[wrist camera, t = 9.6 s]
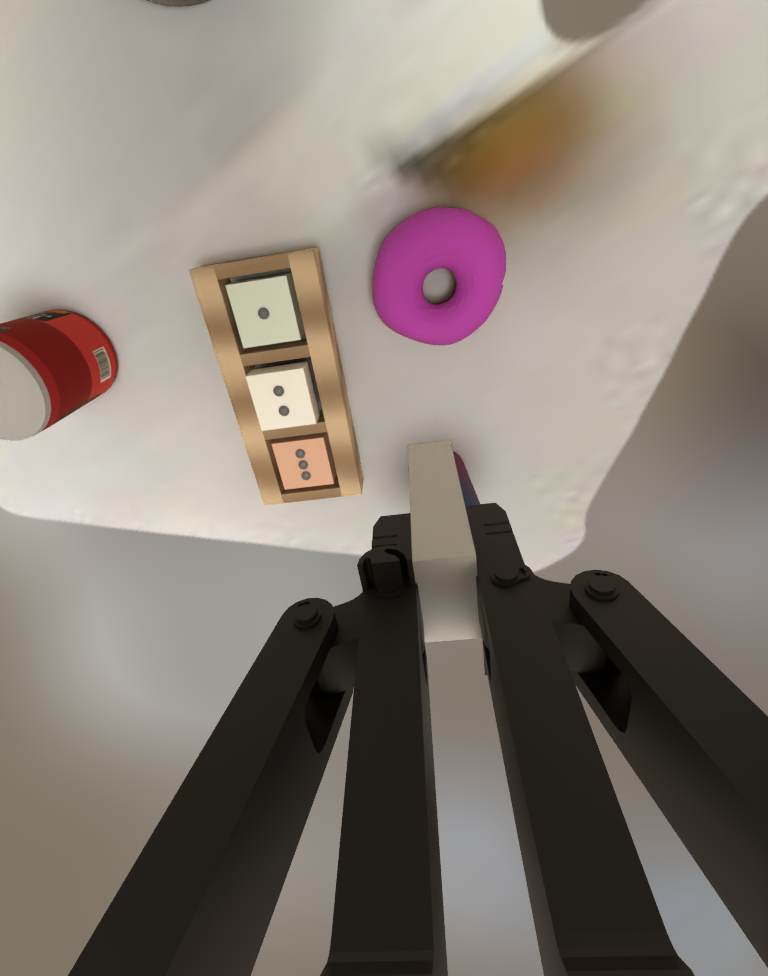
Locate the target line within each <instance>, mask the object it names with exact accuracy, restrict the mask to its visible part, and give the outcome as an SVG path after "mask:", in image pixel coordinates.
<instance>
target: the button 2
mask: <svg viewBox="0 0 768 976" xmlns="http://www.w3.org/2000/svg"><path fill="white" fill-rule="evenodd" d="M245 377H246V380H247V383H248V387H249V390H250V393H251V397H252V400H253V404H254V407H255V410H256V414H257V417H258V420H259V424H260V427H261V430H262V431H265V430H273V429H281V428H288V427H296V426H303V425H311V424H316V423H317V421H318V418H319V415H320V414H319V410H318V406H317V401H316V397H315V393H314V388H313V384H312V379H311V375H310V371H309V366H308V362H300V363H293V364H286V365H279V366H272V367H265V368H258V369H252V370H251V371H250V372H249V373H248V374H247V375H246V376H245Z"/></svg>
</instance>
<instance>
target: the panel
mask: <svg viewBox="0 0 768 976" xmlns="http://www.w3.org/2000/svg"><path fill="white" fill-rule="evenodd" d="M286 268H291V272H292V276H293V281H294V285H295V290H296V294H297V298H298V303H299V307H300V312H301V316H302V321H303V325H304V330H305V334H306V338H303V339H301V340H296V341H289V342H282V343H276V344H269V345H262V346H256V347H249V348H243V345H242V341H241V338H240V334H239V331H238V327H237V324H236V321H235V317H234V314H233V310H232V307H231V303H230V300H229V296H228V293H227V290H226V286H225V285H228V284H230V283H231V281H230V278H231V277H237V276H243V275H249V274H255V273H261V272H267V271H273V270H279V269H286ZM189 272H190V275H191V278H192V281H193V284H194V287H195V290H196V294H197V297H198V300H199V303H200V306H201V309H202V312H203V315H204V318H205V322H206V325H207V328H208V331H209V334H210V337H211V340H212V343H213V347H214V350H215V353H216V356H217V359H218V362H219V365H220V368H221V371H222V375H223V378H224V381H225V384H226V387H227V390H228V393H229V396H230V399H231V403H232V406H233V409H234V412H235V415H236V418H237V421H238V424H239V427H240V431H241V434H242V437H243V440H244V443H245V446H246V449H247V452H248V455H249V459H250V462H251V465H252V468H253V471H254V474H255V477H256V480H257V483H258V487H259V490H260V493H261V496H262V499H263V502H264V505H271V504H280V503H289V502H297V501H306V500H315V499H323V498H332V497H340V496H349V495H358V494H362V488H363V480H364V479H363V474H362V469H361V463H360V458H359V453H358V448H357V443H356V438H355V433H354V427H353V422H352V417H351V412H350V407H349V402H348V397H347V391H346V386H345V381H344V376H343V371H342V366H341V361H340V355H339V350H338V345H337V340H336V335H335V330H334V325H333V319H332V314H331V309H330V304H329V299H328V294H327V289H326V283H325V278H324V273H323V268H322V263H321V258H320V253H319V247H315V248H309V249H303V250H297V251H291V252H285V253H280V254H274V255H268V256H262V257H256V258H250V259H244V260H238V261H232V262H226V263H220V264H214V265H208V266H202V267H199V268H195V269H191V270H189ZM305 357H311V361H312V365H313V370H314V374H315V379H316V383H317V388H318V392H319V396H320V401H321V405H322V410H323V411H320V412H319V414H320V415H319V418H318V421H317V423H316V424H311V425H303V426H296V427H288V428H281V429H273V430H265V431H262V430H261V427H260V424H259V420H258V417H257V414H256V410H255V407H254V404H253V400H252V397H251V393H250V390H249V387H248V383H247V380H246V377H245V376H246V375H247V374H248V373H249V372H250V371H251V370H252V369H255V365H257V364H264V363H271V362H278V361H284V360H291V359H298V358H305ZM323 432H328V437H329V441H330V445H331V450H332V454H333V459H334V463H335V468H336V472H337V474H336V478H335V482H334V484H329V485H320V486H312V487H303V488H295V489H286V490H285V489H284V485H283V482H282V479H281V475H280V472H279V468H278V465H277V461H276V458H275V455H274V451H273V448H272V442H273V440H274V439H277V438H284V437H292V436H300V435H308V434H315V433H323Z"/></svg>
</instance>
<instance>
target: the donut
mask: <svg viewBox="0 0 768 976" xmlns="http://www.w3.org/2000/svg"><path fill="white" fill-rule="evenodd" d="M438 268H446V269H448V270H450V271H451V272H452V273H453V274H454V276H455V278H456V283H457V286H456V291H455V293H454V295H453V297H452V298H451V299H449V300H448V301H447V302H445V303H442V304H438V305H434V304H431V303H429V302H428V301H427V300H426V299H425V297H424V294H423V282H424V280H425V278H426V276H427V275H428V274H429V273H430V272H431V271H433V270H435V269H438ZM505 272H506V252H505V248H504V244H503V241H502V239H501V237H500V235H499V233H498V231H497V229H496V228H495V227H494V226H493V225H492V224H490V223H489V222H487V221H486V220H484V219H483V218H481V217H479V216H477V215H475V214H474V213H472V212H470V211H468V210H464V209H458V208H446V207H436V208H431V209H428V210H424V211H422V212H419V213H417V214H415V215H413V216H411V217H409V218H407V219H406V220H405V221H403V222H402V223H401V224H399V225H398V226H397V227H396V228H394V229H393V230H392V231H391V232H390V233H389V234H388V236H387V237H386V238H385V240H384V241H383V244H382V246H381V248H380V251H379V253H378V256H377V260H376V264H375V268H374V274H373V300H374V305H375V308H376V311H377V313H378V315H379V317H380V318H381V320H382V321H383V322H384V324H385V325H387V326H388V327H389V328H390V329H392V330H393V331H395V332H397V333H399V334H401V335H402V336H405V337H407V338H410V339H413V340H416V341H419V342H422V343H426V344H431V345H449V344H453V343H456V342H458V341H461V340H462V339H464V338H466V337H467V336H469V335H470V334H472V333H473V332H474V331H475V330H477V329H478V328H479V327H480V326H481V325H482V324H483V323H484V322H485V321H486V320H487V318H488V317H489V315H490V314H491V312H492V311H493V309H494V307H495V306H496V304H497V302H498V300H499V298H500V295H501V291H502V288H503V285H502V282H503V279H504V276H505Z"/></svg>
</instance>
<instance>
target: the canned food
mask: <svg viewBox="0 0 768 976" xmlns="http://www.w3.org/2000/svg"><path fill="white" fill-rule="evenodd" d="M116 373H117V359H116V354H115V351H114V349H113V346H112V345H111V343H110V341H109V339H108V338H107V337H106V335H105V334H104V333H103V332H102V331H101V330H100V329H99V328H98V327H97V326H96V325H95V324H94V323H92V322H91V321H89V320H88V319H86V318H84V317H82V316H80V315H78V314H75V313H72V312H67V311H60V310H52V311H46V312H42V313H39V314H35V315H31V316H27V317H24V318H20V319H16V320H13V321H9V322H5V323H2V324H0V439H3V440H11V441H13V440H23V439H26V438H29V437H31V436H34V435H36V434H38V433H39V432H41V431H43V430H45V429H47V428H48V427H50V426H51V425H53V424H55V423H56V422H58V421H60V420H61V419H63V418H64V417H66V416H68V415H69V414H71V413H72V412H74V411H76V410H77V409H79V408H80V407H82V406H84V405H85V404H87V403H88V402H90V401H92V400H93V399H95V398H96V397H98V396H100V395H101V394H103V393H105V392H106V391H107V390H108V389H109V388H110V387H111V385H112V383H113V381H114V379H115V377H116Z"/></svg>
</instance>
